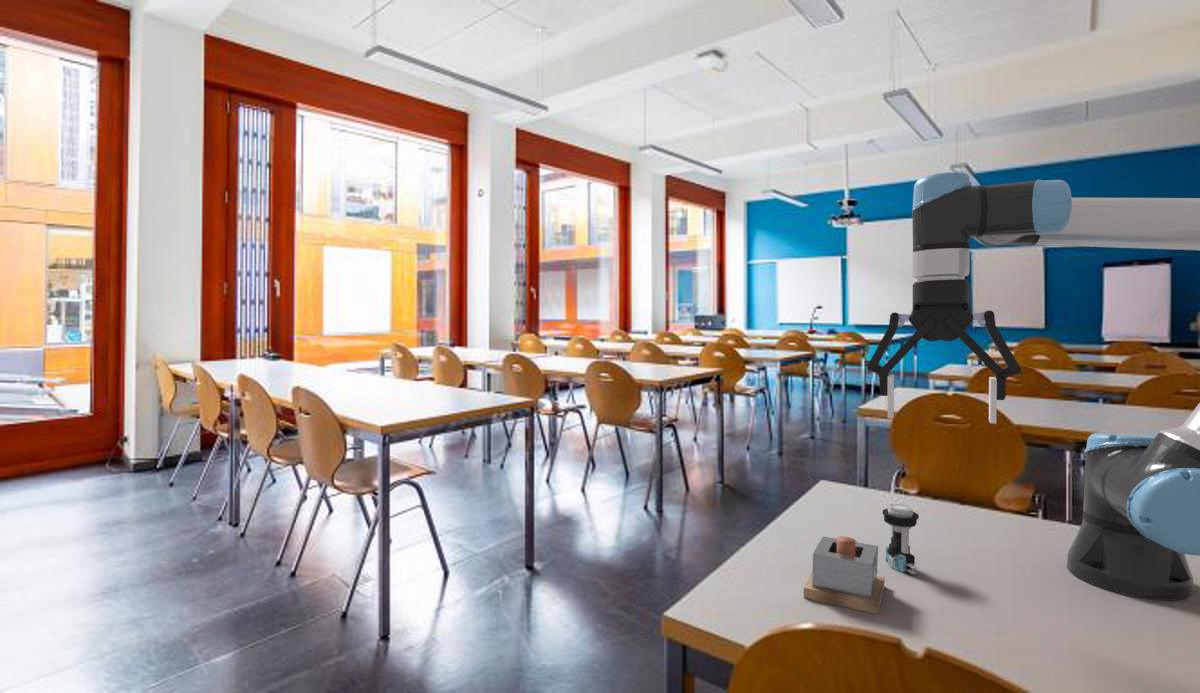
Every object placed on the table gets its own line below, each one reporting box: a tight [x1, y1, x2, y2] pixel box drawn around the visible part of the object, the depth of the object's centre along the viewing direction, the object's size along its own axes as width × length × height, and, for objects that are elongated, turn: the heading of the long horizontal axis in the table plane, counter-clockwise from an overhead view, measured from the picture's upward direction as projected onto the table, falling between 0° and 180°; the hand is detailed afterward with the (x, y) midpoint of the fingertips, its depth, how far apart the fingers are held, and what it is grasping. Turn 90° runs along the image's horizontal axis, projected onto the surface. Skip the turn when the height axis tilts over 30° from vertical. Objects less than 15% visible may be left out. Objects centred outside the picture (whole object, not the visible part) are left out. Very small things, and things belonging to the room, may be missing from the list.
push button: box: [882, 503, 920, 575], centre depth 102 cm, size 7×5×10 cm
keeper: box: [803, 536, 886, 615], centre depth 93 cm, size 10×10×8 cm
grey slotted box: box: [811, 536, 879, 599], centre depth 93 cm, size 8×8×5 cm
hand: (939, 419), depth 95 cm, fingers open, 13 cm apart
